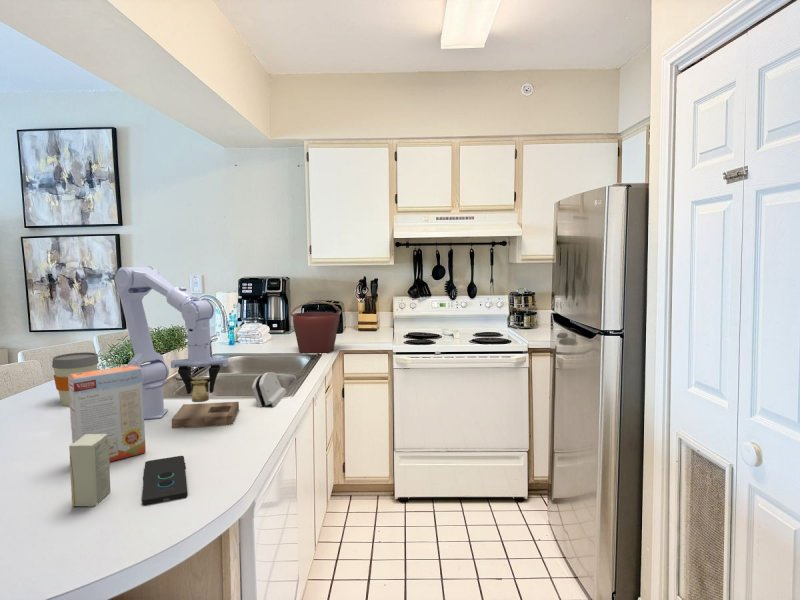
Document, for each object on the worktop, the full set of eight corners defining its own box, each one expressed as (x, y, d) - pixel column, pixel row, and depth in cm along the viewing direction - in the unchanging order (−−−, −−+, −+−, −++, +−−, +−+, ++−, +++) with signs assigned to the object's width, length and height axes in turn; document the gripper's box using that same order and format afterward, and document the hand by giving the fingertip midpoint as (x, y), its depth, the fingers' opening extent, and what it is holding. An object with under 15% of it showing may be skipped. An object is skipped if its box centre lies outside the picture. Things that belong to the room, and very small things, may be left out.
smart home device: (140, 500, 94) (144, 460, 112) (141, 508, 94) (144, 468, 112) (188, 491, 98) (184, 454, 116) (188, 499, 98) (184, 461, 116)
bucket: (344, 348, 257) (344, 299, 255) (335, 356, 235) (334, 303, 233) (298, 347, 259) (297, 299, 257) (284, 355, 238) (283, 303, 235)
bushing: (187, 403, 135) (187, 381, 135) (192, 397, 141) (192, 376, 140) (208, 402, 136) (208, 380, 136) (212, 397, 142) (212, 376, 141)
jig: (171, 428, 137) (171, 419, 137) (183, 412, 151) (183, 404, 150) (232, 424, 140) (232, 415, 140) (238, 409, 154) (238, 401, 154)
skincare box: (88, 492, 100) (85, 433, 99) (112, 491, 100) (109, 432, 99) (71, 508, 94) (67, 445, 93) (95, 507, 94) (92, 444, 93)
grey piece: (274, 407, 156) (262, 378, 155) (260, 412, 156) (248, 382, 155) (287, 393, 173) (277, 366, 172) (274, 397, 173) (264, 370, 172)
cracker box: (138, 446, 124) (134, 363, 122) (146, 453, 119) (143, 367, 118) (72, 462, 114) (67, 372, 112) (78, 471, 110) (73, 377, 108)
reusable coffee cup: (108, 400, 163) (105, 354, 162) (66, 410, 153) (63, 361, 151) (88, 394, 170) (86, 350, 169) (46, 403, 159) (44, 357, 158)
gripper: (166, 347, 132) (168, 397, 133) (224, 345, 135) (225, 395, 136) (173, 342, 139) (175, 390, 140) (228, 341, 142) (229, 388, 143)
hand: (200, 392), depth 139 cm, fingers closed on bushing, 5 cm apart
